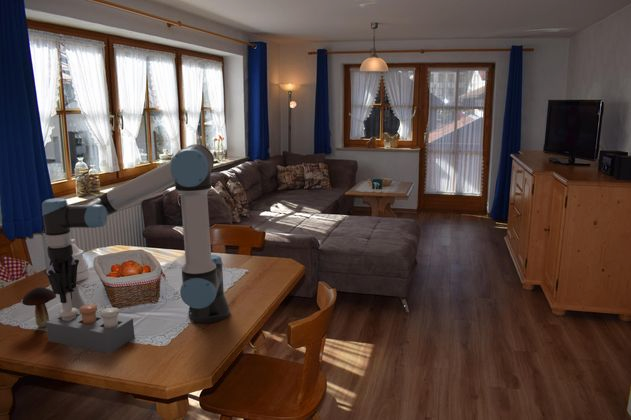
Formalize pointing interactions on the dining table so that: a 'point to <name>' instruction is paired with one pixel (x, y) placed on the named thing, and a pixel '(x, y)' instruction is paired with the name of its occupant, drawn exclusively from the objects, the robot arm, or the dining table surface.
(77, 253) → the honey pot
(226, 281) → the dining table surface
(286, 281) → the dining table surface
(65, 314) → the far knob
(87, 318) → the middle knob
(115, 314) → the near knob
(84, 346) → the grey rectangular block
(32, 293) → the decorative mushroom
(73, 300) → the flask
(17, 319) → the dining table surface
